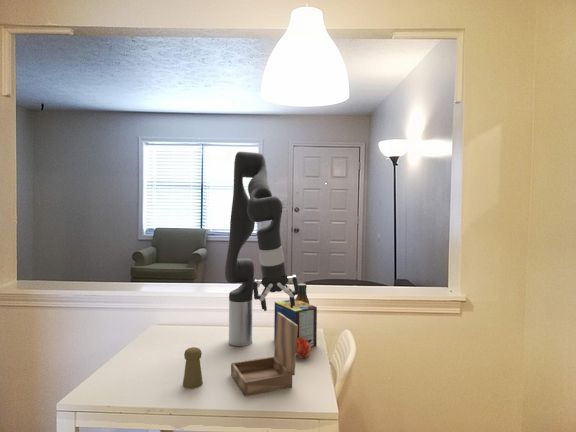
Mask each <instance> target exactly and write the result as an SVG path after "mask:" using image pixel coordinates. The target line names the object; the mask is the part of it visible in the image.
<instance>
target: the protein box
mask: <svg viewBox="0 0 576 432" xmlns="http://www.w3.org/2000/svg"><path fill="white" fill-rule="evenodd" d="M294 300H295V306H293V308H291V305H290V299H285V300H279V301H274V321H273V322H274V325H273V326H274V328H273V329H274V332H273V333H274V335H273V339H274V340H275V337H276V323H277V312H280V313H281V314H283V315H284V316H285V317H287V318H288V319H290V320H291V321H293V322H294V323H295V324H297V325H298V332H297V338H299V337H300V338H305V339H306V340H312V341H311V342H310V346H311V348H313V347H317V345H318V343H317V340H318V338H317V336H318V335H317V334H318V333H317V330H318V329H317V328H318V327H317V325H318V322H317V321H318V314H317V313H318V307H317V306H315V305H312V304H310V303H309V304H307V303H305V302H302V301H299V300H297V299H296V298H294Z"/></svg>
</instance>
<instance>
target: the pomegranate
mask: <svg viewBox="0 0 576 432" xmlns="http://www.w3.org/2000/svg"><path fill="white" fill-rule="evenodd" d="M311 341H312V340H306V339H305V338H300V337H299V338H297V347H296V355H297V356H298V357H299V358H300V359H305V358H307V357H308V356H309V355H310V354H311V351H312V347H311V346H310V342H311Z"/></svg>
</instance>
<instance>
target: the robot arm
mask: <svg viewBox="0 0 576 432" xmlns="http://www.w3.org/2000/svg"><path fill="white" fill-rule="evenodd" d="M266 162H267V161H266V158H265V156H264V155H263V154H262V153H259V152H254V151H252V152H250V151H237V152H236V154H235V157H234V162H233V163H234V165H233V193H232V194H233V195H232V203H231V211H230V220H229V222H230V223H229V224H230V226H229V237H228V238H229V239H228V240H229V241H228V246H227V248H228V249H227V255H226V261H225V266H224V277H225V281H226V282H227V283H228V284H237V283H238V284H239V283H241V285H240V286H238V287H237V288H235V289H233V290H231V291H230V292H228V293H229V294H228V344H229V345H231V346H233V347H246V346H250V345H251V344H252V343H253V299H254V300H259V301H260V306H261V309H262V310H263V311H264V312H267V309H268V308H267V301H266V297H267V296H268V294H269V293H276V292H284V293H285V294H287V295H288V296H289V300H290V305H291V308H293V306H295V300H294V299H295V296H296V295H298V294H299V288H298V284H299V283H298V278H297V274H292V275H291V276H290V275H289V276H288V275H287V273H286V272H287V270H286V263H285V255H284V251H283V246H282V241H281V221H282V215H283V203H282V201H281V199H280V197H277V196H276V195H275V196H273V194H272V190H271V189H270V185H269V181H268V180H269V179H268V168H267V163H266ZM244 178H248V179H250V178H251V179H250V180H249V182H248V185H247V192H248V194H247V192H246V189H245V186H244V182H243V180H244ZM269 221H270V224H268V225H267V226H264V227H262V228H260V229H258V231H257V232H256V237H257V245H258V256H259V258H258V259H259V260H258V261H259V264H260V271H261V277H262V279H257V278H255V265H254V262H253V260H252V258H238V257H239V254H240V251H241V250H242V248H243V246H244V245H245V244H246V242H247V241H248V240H249V238H250V237H251V235H252V234H253V232H254V229H255V224H256V223H261V222H269ZM288 282H290V283H291V284H293V287H294V289H293V290H292V289H291V288H290V286H289V285H288ZM260 285H262V286H263V287H264V289H263V290H262V292H261V294H260V293H259V288H260V287H261V286H260Z"/></svg>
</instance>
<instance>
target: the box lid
mask: <svg viewBox="0 0 576 432" xmlns="http://www.w3.org/2000/svg"><path fill="white" fill-rule="evenodd" d="M297 332H298V325H297V324H295V323H294V322H293V321H291V320H290V319H288V318H287V317H285V316H284V315H283V314H281V313H280V312H277V323H276V337H275V339H274V351H273V352H274V354H273V357H275V358H276V359H277V360H278V361H279V362H280V363H281V364H282V365H283V366H284V367H285V368H286V369H287V370H288V371H289V372H290V373H291V374H292V377H295V375H296V374H295V373H296V357H297V353H296V347H297Z"/></svg>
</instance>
